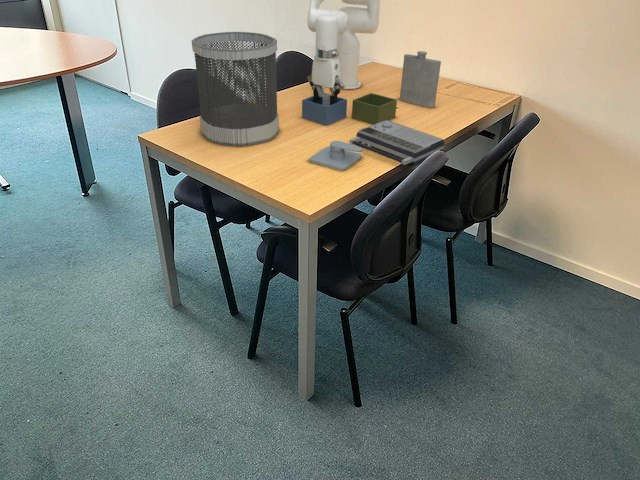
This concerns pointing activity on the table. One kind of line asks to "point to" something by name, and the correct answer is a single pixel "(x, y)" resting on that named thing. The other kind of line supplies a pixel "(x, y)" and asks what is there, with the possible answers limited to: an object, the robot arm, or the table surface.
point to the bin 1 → (324, 111)
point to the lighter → (323, 96)
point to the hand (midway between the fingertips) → (324, 103)
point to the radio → (398, 142)
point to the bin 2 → (374, 108)
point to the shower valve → (337, 155)
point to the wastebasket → (240, 118)
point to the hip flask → (419, 80)
